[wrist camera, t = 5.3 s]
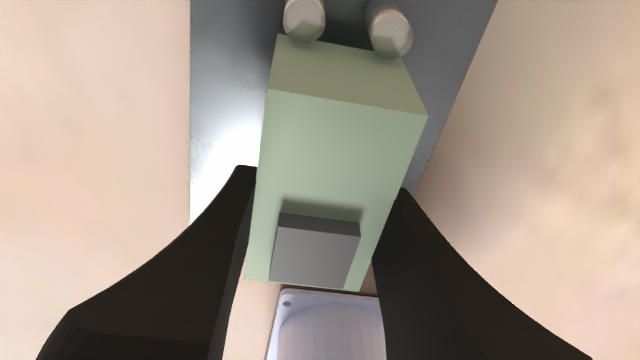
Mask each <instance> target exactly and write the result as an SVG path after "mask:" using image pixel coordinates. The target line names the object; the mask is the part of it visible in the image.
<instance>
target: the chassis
mask: <svg viewBox="0 0 640 360" xmlns="http://www.w3.org/2000/svg"><path fill="white" fill-rule="evenodd" d="M497 1H498V0H190V224H191V223H192V222H193V221H194V220H195V219H196V218H197V217H198V216H199V215H200V214H201V213H202V212H203V210H204V209H205V208H206V207H207V206H208V205H209V204H210V202H211V201H212V200H213V199H214V197H215V196H216V195H217V194H218V192H219V191H220V190H221V188H222V187H223V186H224V184H225V183H226V181H227V180H228V178H229V177H230V175H231V173H232V172H233V170H234V168H235V166H237V165H238V164H242V165H249V166H256V167H257V165H258V157H259V149H260V141H261V133H262V125H263V117H264V109H265V101H266V93H267V86H268V81H269V76H270V71H271V65H272V60H273V55H274V50H275V45H276V40H277V35H278V34H284V35H288V36H289V37H290V38H291V39H292V40H294V41H295V42H298V43H303V44H306V43H311V42H314V41H315V40H316V41H321V42H326V43H332V44H337V45H342V46H348V47H353V48H358V49H364V50H369V51H374V52H376V53H377V54H378V55H379V56H380V57H382V58H384V59H389V60H391V59H397V58H400V57H401V59H402V61H403V63H404V65H405V67H406V69H407V71H408V73H409V76H410V78H411V80H412V82H413V84H414V86H415V88H416V90H417V93H418V95H419V97H420V99H421V101H422V103H423V105H424V107H425V110H426V112H427V114H428V119H427V121H426V124H425V126H424V129H423V131H422V134H421V136H420V139H419V141H418V144H417V146H416V149H415V151H414V154H413V156H412V159H411V162H410V164H409V167H408V169H407V172H406V174H405V177H404V179H403V182H402V184H401V187H402V188H406V189H407V190H408V192H409V193H410V194H411V196H412V197H413V195H414V193H415V191H416V189H417V186H418V184H419V182H420V179H421V177H422V175H423V172H424V170H425V168H426V165H427V163H428V161H429V158H430V156H431V154H432V151H433V149H434V147H435V145H436V142H437V140H438V138H439V135H440V133H441V131H442V128H443V126H444V124H445V121H446V119H447V117H448V114H449V112H450V110H451V107H452V105H453V103H454V101H455V98H456V96H457V94H458V91H459V89H460V87H461V84H462V82H463V80H464V77H465V75H466V73H467V70H468V68H469V66H470V63H471V61H472V59H473V57H474V54H475V52H476V50H477V47H478V45H479V43H480V40H481V38H482V36H483V33H484V31H485V29H486V26H487V24H488V22H489V20H490V17H491V15H492V13H493V10H494V8H495V6H496V3H497Z"/></svg>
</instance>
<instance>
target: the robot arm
mask: <svg viewBox="0 0 640 360" xmlns="http://www.w3.org/2000/svg"><path fill="white" fill-rule="evenodd" d="M256 173H257V167H256V166H249V165H242V164H238V165H237V166H235V168H234V170H233V172H232V173H231V175H230V177H229V178H228V180H227V181H226V183H225V184H224V186H223V187H222V188H221V190H220V191H219V192H218V194H217V195H216V196H215V197H214V199H213V200H212V201H211V202H210V204H209V205H208V206H207V207H206V208H205V209H204V210H203V212H202V213H201V214H200V215H199V216H198V217H197V218H196V219H195V220H194V221H193V222H192V223H191V224H190V225H189V226H188V227H187V228H186V229H185V230H184V231H183V232H182V233H181V234H180V235H179V236H178V237H177V238H176V239H174V240H173V241H172V242H171V243H170V244H169V245H168V246H166V247H165V248H164V249H163V250H161V251H160V252H159V253H158V254H156V255H155V256H154V257H153V258H151V259H150V260H149V261H147V262H146V263H145V264H143V265H142V266H141V267H139V268H138V269H136V270H135V271H133V272H132V273H130V274H129V275H127V276H126V277H124V278H123V279H121V280H120V281H118V282H117V283H115V284H114V285H112V286H110V287H109V288H107V289H105V290H104V291H102V292H100V293H98V294H97V295H95V296H93V297H91V298H90V299H88V300H86V301H84V302H82V303H81V304H79V305H77V306H75V307H73V308H71V309H70V310H68V312H67V313H66V314H65V315H64V317H63V318H62V319H61V321H60V322H59V323H58V325H57V326H56V327H55V329H54V330H53V332H52V333H51V334H50V336H49V337H48V339H47V340H46V342H45V344H44V345H43V347H42V349H41V351H40V352H39V354H38V356H37V358H36V360H222V357H223V351H224V345H225V339H226V333H227V328H228V322H229V317H230V312H231V308H232V304H233V300H234V296H235V292H236V289H237V285H238V281H239V278H240V274H241V270H242V266H243V263H244V259H245V255H246V251H247V248H248V244H249V236H250V228H251V220H252V212H253V204H254V196H255V188H256ZM371 260H372V266H373V271H374V277H375V282H376V288H377V293H378V298H377V297H368V296H359V295H349V294H340V293H331V292H321V291H312V290H303V289H293V288H286V289H283V290H282V291H281V292H280V296H279V300H278V305H277V310H276V314H275V319H274V323H273V328H272V333H271V337H270V342H269V347H268V351H267V356H266V360H593V359H592V358H591V357H590V356H588V355H586V354H585V353H583V352H582V351H580V350H579V349H577V348H575V347H574V346H572V345H571V344H569V343H567V342H566V341H564V340H563V339H561V338H559V337H558V336H556V335H555V334H553V333H552V332H550V331H549V330H547V329H546V328H545V327H543V326H542V325H540V324H539V323H538V322H536V321H535V320H533V319H532V318H531V317H529V316H528V315H527V314H525V313H524V312H523V311H521V310H520V309H519V308H517V307H516V306H515V305H514V304H512V303H511V302H510V301H509V300H508V299H506V298H505V297H504V296H503V295H501V294H500V293H499V292H498V291H497V290H496V289H494V288H493V287H492V286H491V285H490V284H489V283H488V282H487V281H485V280H484V279H483V278H482V277H481V276H480V275H479V274H478V273H477V272H476V271H475V270H474V269H473V268H472V267H471V266H470V265H469V264H468V263H467V262H466V261H465V260H464V259H463V258H462V257H461V256H460V255H459V253H458V252H457V251H456V250H455V249H454V248H453V247H452V246H451V245H450V244H449V242H448V241H447V240H446V239H445V238H444V236H443V235H442V234H441V233H440V232H439V230H438V229H437V228H436V227H435V225H434V224H433V223H432V222H431V220H430V219H429V218H428V217H427V215H426V214H425V213H424V211H423V210H422V209H421V207H420V206H419V205H418V203H417V202H416V201H415V199H414V198H413V197H412V196H411V194H410V193H409V192H408V190H407V189H406V188H402V187H400V189H399V192H398V194H397V197H396V199H395V200H394V202H393V205H392V207H391V210H390V213H389V215H388V218H387V220H386V223H385V225H384V228H383V230H382V233H381V235H380V238H379V240H378V243H377V245H376V248H375V251H374V253H373V256H372V258H371Z"/></svg>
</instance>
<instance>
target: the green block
mask: <svg viewBox="0 0 640 360" xmlns="http://www.w3.org/2000/svg"><path fill="white" fill-rule="evenodd" d="M427 119H428V114H427V112H426V110H425V107H424V105H423V103H422V101H421V99H420V97H419V95H418V93H417V90H416V88H415V86H414V84H413V82H412V80H411V78H410V76H409V73H408V71H407V69H406V67H405V65H404V63H403V61H402V59H401V57H400V58H397V59H391V60H389V59H384V58H382V57H380V56H379V55H378V54H377V53H376V52H374V51H369V50H364V49H358V48H353V47H348V46H342V45H337V44H332V43H326V42H321V41H316V40H315V41H314V42H311V43H306V44H303V43H298V42H295V41H294V40H292V39H291V38H290V37H289V36H288V35H284V34H278V35H277V40H276V45H275V50H274V55H273V60H272V65H271V71H270V76H269V81H268V86H267V93H266V101H265V109H264V117H263V125H262V133H261V141H260V149H259V157H258V165H257V173H256V188H255V196H254V204H253V212H252V220H251V228H250V236H249V244H248V248H247V253H246V261H245V270H244V278H243V279H244V280H254V281H263V282H272V283H281V284H291V285H300V286H309V287H318V288H328V289H337V290H346V291H355V292H359V290H360V288H361V285H362V283H363V280H364V278H365V275H366V273H367V270H368V268H369V265H370V263H371V258H372V256H373V253H374V251H375V248H376V245H377V243H378V240H379V238H380V235H381V233H382V230H383V228H384V225H385V223H386V220H387V218H388V215H389V213H390V210H391V207H392V205H393V202H394V200H395V199H396V197H397V194H398V192H399V189H400V187H401V184H402V182H403V179H404V177H405V174H406V172H407V169H408V167H409V164H410V162H411V159H412V156H413V154H414V151H415V149H416V146H417V144H418V141H419V139H420V136H421V134H422V131H423V129H424V126H425V124H426V121H427Z"/></svg>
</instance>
